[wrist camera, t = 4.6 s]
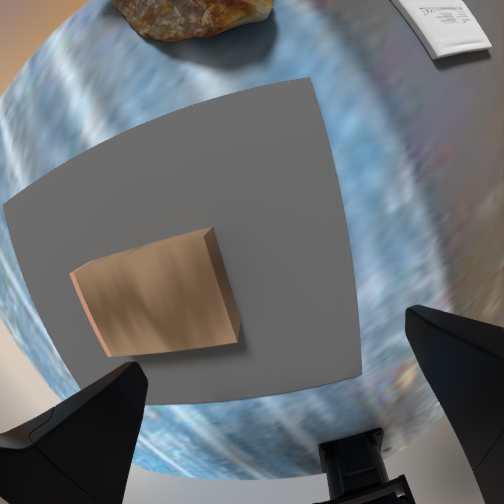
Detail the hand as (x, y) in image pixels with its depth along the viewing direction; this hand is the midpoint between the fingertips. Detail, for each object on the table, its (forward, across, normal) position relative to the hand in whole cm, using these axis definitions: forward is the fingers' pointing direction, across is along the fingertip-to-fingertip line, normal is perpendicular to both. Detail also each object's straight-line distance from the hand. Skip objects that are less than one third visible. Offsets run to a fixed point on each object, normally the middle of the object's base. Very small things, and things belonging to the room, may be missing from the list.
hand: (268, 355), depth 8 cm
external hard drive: (+9, -17, -18) cm, 27 cm away
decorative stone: (+9, +1, -20) cm, 22 cm away
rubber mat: (+9, +8, 0) cm, 11 cm away
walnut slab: (+7, +2, 0) cm, 7 cm away
